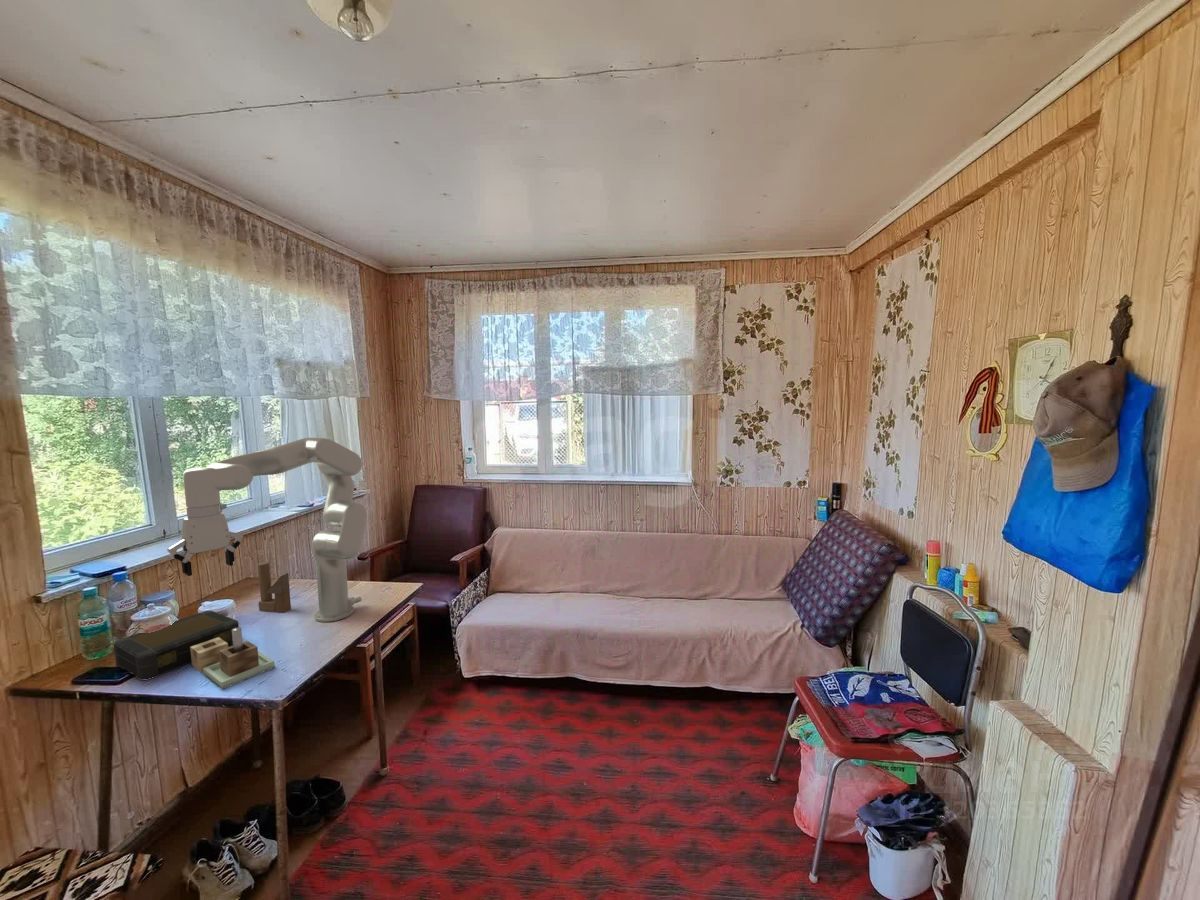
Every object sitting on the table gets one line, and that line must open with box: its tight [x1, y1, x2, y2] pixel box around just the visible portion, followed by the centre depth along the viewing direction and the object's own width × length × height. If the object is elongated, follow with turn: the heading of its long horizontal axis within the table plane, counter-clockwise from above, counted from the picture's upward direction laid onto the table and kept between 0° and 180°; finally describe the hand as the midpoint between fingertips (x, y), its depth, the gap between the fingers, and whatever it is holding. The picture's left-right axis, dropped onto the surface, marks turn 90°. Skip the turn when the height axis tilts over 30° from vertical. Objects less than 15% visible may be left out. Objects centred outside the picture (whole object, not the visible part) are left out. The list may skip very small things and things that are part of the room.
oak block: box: [190, 637, 228, 674], centre depth 145 cm, size 7×7×6 cm
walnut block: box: [219, 640, 259, 677], centre depth 141 cm, size 7×7×6 cm
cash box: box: [113, 610, 240, 680], centre depth 151 cm, size 25×20×8 cm
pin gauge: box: [232, 626, 243, 653], centre depth 140 cm, size 2×2×10 cm
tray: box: [202, 650, 276, 690], centre depth 141 cm, size 13×13×2 cm
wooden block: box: [257, 561, 292, 614], centre depth 181 cm, size 4×11×18 cm, turn 80°
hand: (209, 569), depth 139 cm, fingers open, 9 cm apart
